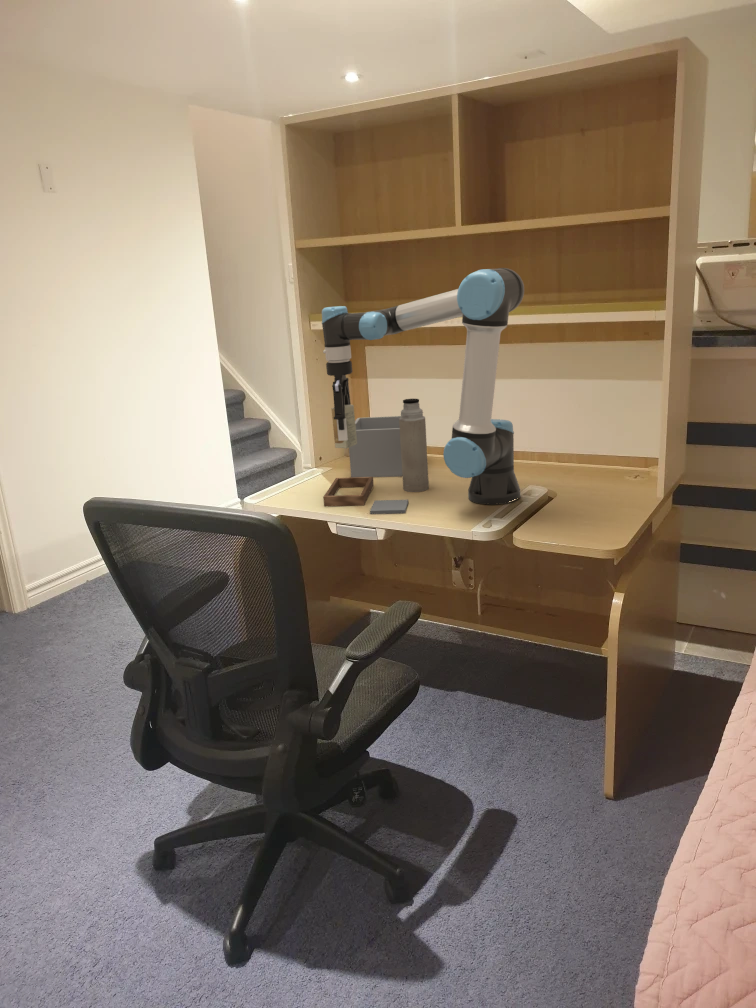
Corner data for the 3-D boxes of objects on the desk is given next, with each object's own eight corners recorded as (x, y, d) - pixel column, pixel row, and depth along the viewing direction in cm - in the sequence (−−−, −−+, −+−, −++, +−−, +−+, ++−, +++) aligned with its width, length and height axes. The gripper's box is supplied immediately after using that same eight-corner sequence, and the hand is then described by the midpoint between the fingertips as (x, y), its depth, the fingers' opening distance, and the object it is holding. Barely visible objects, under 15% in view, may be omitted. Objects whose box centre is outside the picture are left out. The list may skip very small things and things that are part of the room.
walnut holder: (373, 485, 248) (372, 476, 247) (364, 505, 228) (363, 495, 228) (336, 486, 250) (336, 477, 249) (324, 506, 230) (323, 496, 229)
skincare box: (345, 443, 238) (342, 404, 235) (357, 444, 236) (354, 404, 233) (334, 448, 233) (330, 407, 230) (346, 448, 231) (342, 407, 227)
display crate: (421, 459, 277) (419, 415, 272) (416, 475, 256) (414, 428, 252) (361, 461, 280) (357, 417, 276) (351, 477, 260) (347, 430, 255)
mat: (408, 502, 228) (408, 499, 228) (405, 513, 219) (405, 509, 218) (374, 503, 229) (374, 500, 229) (370, 514, 220) (369, 510, 220)
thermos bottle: (415, 483, 247) (410, 396, 239) (434, 487, 242) (429, 398, 234) (398, 489, 242) (392, 400, 234) (416, 493, 237) (411, 402, 228)
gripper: (332, 357, 237) (339, 431, 244) (319, 366, 218) (326, 445, 225) (356, 356, 236) (362, 430, 243) (345, 364, 217) (352, 444, 224)
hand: (345, 437), depth 234 cm, fingers closed on skincare box, 7 cm apart
